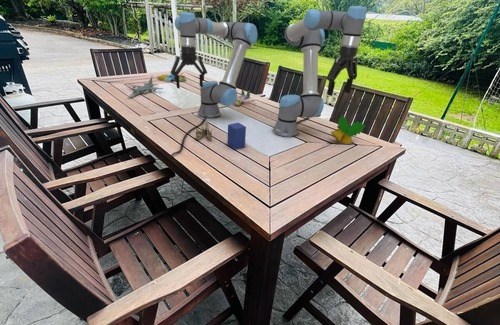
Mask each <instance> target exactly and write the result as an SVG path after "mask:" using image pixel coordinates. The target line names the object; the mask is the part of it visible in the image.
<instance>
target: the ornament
mask: <svg viewBox="0 0 500 325" xmlns="http://www.w3.org/2000/svg"><path fill="white" fill-rule="evenodd" d="M365 127H367V125H366V124H363V122H360V121H356V122H352V124H349V121H348V118H347V117H346V116H343V115H342V114H341V115H340V118H338V122H337V127H336V128H337V129H335V130H332V131H331V132H330V134H331V135H332V136H333V138H334V139H335V140H336V141H338V142H340V143H342V144H345V145H348V144H349V145H350V144H352V143H353V139H352V138H353V136H354V137H357V135H361V133H362V132H363V131H364V129H365Z"/></svg>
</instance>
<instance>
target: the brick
mask: <svg viewBox="0 0 500 325" xmlns="http://www.w3.org/2000/svg"><path fill="white" fill-rule="evenodd" d="M246 133H247V126H246V125H244V124H242V123H240V122H234V123H229V124H227V146H229V147H230V148H232V149H233V150H238V149H242V148H245V147H246Z"/></svg>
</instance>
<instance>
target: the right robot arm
mask: <svg viewBox="0 0 500 325" xmlns="http://www.w3.org/2000/svg"><path fill="white" fill-rule="evenodd" d="M367 12H368V8H367V7H366V6H359V5H350V6H349V7H348V10H347V11H339V10H325V9H317V8H314V9H313V8H311V9H307V11H306V12H305V14H304V16H303V17H304V18H302V19H301V20H299V21H297V22H293V23H291V24H289V25H288V26H287V27H286V28H285V30H284V38H285V40H286V42H287V43H288V44H289V45H291V46H294V47H300V51H301V53H302V54H303V56H302V58H303V59H302V60H303V63H302V64H303V70H302V72H303V74H302V75H303V76H302V81H303V82H302V93H301V94H300V95H298V94H286V95H283V96H282V97H280V100H279V105H278V115H277V121H276V123H275V125H274V127H273V133H274V134H275V135H278V136H279V137H285V138H292V137H296V136H297V135H298V132H299V129H298V124H299V123H301V122H303V121H306V120H308V119H309V118H317V117H320V115H321V114H322V112H323V110H324V105H325V104H324V98H322V97H321V94H320V93H319V92H318V84H319V83H318V80H319V79H318V76H319V52H320V50H321V48H322V47H323V45H324V44H325V36H326V34H325V31H324V30H332V31H343V32H342V33H343V34H342V39H341V43H340V47H339V52H338V55H339V56H340V57H335V58H334V62H333V64H332V66H331V68H330V70H329V72H328V74H327V76H326V77H325V78H326V79H325V80H327V81H328V84H327V92H326V95H327V96H330V97H332V96H333V94H334V89H335V85H336V79H337V78H338V77H339V75H340V74H341V72H342V71H344V69H345V70H346V72H347V76H348V77H347V79H346V83H345V87H344V93H347V94H350V93H351V89H352V85H353V82H354V80H356V79H357V77H358V57H356V56H357V53H358V50H359V49H358V47H359V46H360V42H361V37H362V33H363V29H364V25H365V22H366V18H367V17H366V16H367ZM298 118H303V119H300V120H297V119H298Z"/></svg>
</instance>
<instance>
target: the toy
mask: <svg viewBox="0 0 500 325" xmlns="http://www.w3.org/2000/svg"><path fill="white" fill-rule="evenodd" d="M240 92H241V93H240V95H237V99H236V101H235V103H234V104H233V105H235V106H242V103H243V104H247V105H252V106H255V105H256V104H257V103H256V102H254V101H253V100H252V101H251V102H250V101H248V100H246V99H248V98H250V97H251V90H250V89H249V90H248V91H247V92H246V93H245V91H244V89H242V90H241V91H240Z"/></svg>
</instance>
